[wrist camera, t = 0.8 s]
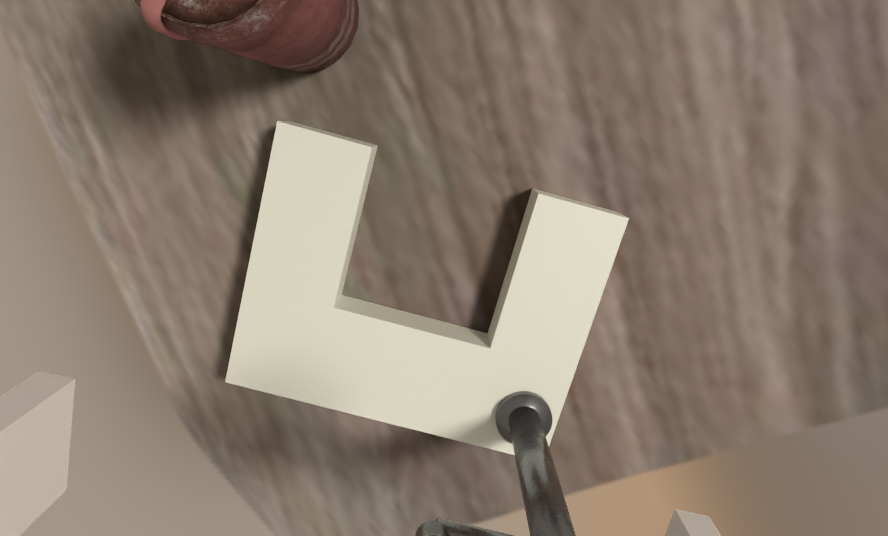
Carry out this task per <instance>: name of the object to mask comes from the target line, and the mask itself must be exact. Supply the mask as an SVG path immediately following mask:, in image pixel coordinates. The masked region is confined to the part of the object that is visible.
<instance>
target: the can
mask: <svg viewBox="0 0 888 536" xmlns="http://www.w3.org/2000/svg"><path fill="white" fill-rule="evenodd" d="M135 1H136V3H137V4H138V6H139V7H141V12H142V16H143V18H144V19H145V21H146V23H147V24H148V26H149V27H150V28H151V29H153V30H155V31H157V32H160V33H162V34H164V35H166V36H168V37H171V38H173V39H179V40H193V41H196V42H199V43H202V44H205V45H209V46H212V47H215V48H218V49H221V50H224V51H228V52H231V53H234V54H237V55H240V56H243V57H247V58H250V59H253V60H256V61H259V62H262V63H266V64H269V65H272V66H275V67H278V68H281V69H285V70H288V71H295V72H304V73H307V72H312V71H317V70H321V69H324V68H326V67H328V66H329V65H331V64H332V63H334V62H336V61H337V60H339V59H340V58H341V56H342V55H343V54H344V53H345V52H346V50H347V49H348V48H349V47H350V45H351V43H352V40H353V38H354V35H355V33H356V30H357V27H358V14H359V7H358V2H357V0H135Z"/></svg>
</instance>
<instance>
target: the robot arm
mask: <svg viewBox="0 0 888 536" xmlns="http://www.w3.org/2000/svg"><path fill="white" fill-rule="evenodd" d="M74 390H75V378H70V377H65V376H61V375H56V374H52V373H47V372H42V371H38V372H36V373H34V374H33V375H31V376H30V377H28V378H26V379H25V380H23V381H22V382H20V383H19V384H17V385H15V386H14V387H12V388H11V389H9V390H7V391H6V392H4V393H3V394H1V395H0V536H20V535H21V534H22V533H23V532H24V531H25V530H26V529H27V528H28V527H29V526H30V525H31V524H32V523H33V522H34V521H35V520H36V519H37V518H38V517H39V516H41V514H43V513H44V512H45V511H46V510H47V509H48V508H49V507H50V506H51V505H52V504H53V503H54V502H55V501H56V500H57V499H58V498H59V497H60V496H61V495H62V494H63V493H64V492H65V491H66V490H67V480H68V468H69V454H70V441H71V429H72V416H73V402H74ZM665 536H721V535H720V533H719V532H718V530H717V529H716V527H715V526H714V524H713V522H712V521H711V519H710V517H709V516H705V515H701V514H696V513H691V512H686V511H682V510H677V509H675V511H674V514H673V516H672V519H671V521H670V524H669V527H668V529H667V532H666V534H665Z"/></svg>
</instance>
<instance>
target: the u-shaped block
mask: <svg viewBox="0 0 888 536" xmlns="http://www.w3.org/2000/svg"><path fill="white" fill-rule="evenodd" d="M377 147H378V145H375V144H371V143H367V142H364V141H360V140H356V139H353V138H349V137H346V136H342V135H338V134H335V133H331V132H328V131H324V130H320V129H317V128H313V127H310V126H306V125H302V124H299V123H295V122H292V121H277V125H276V130H275V135H274V140H273V145H272V150H271V155H270V160H269V165H268V170H267V175H266V180H265V185H264V190H263V195H262V200H261V205H260V210H259V215H258V220H257V225H256V230H255V235H254V240H253V245H252V250H251V255H250V260H249V265H248V270H247V275H246V280H245V285H244V290H243V295H242V300H241V305H240V310H239V315H238V320H237V325H236V330H235V335H234V340H233V345H232V350H231V355H230V360H229V365H228V370H227V375H226V380H225V382H226V383H230V384H234V385H238V386H242V387H246V388H250V389H254V390H258V391H262V392H266V393H270V394H274V395H278V396H282V397H286V398H290V399H294V400H298V401H302V402H306V403H310V404H314V405H318V406H322V407H326V408H330V409H334V410H338V411H342V412H346V413H350V414H353V415H357V416H361V417H365V418H369V419H373V420H377V421H381V422H385V423H389V424H393V425H397V426H401V427H405V428H409V429H413V430H417V431H421V432H425V433H429V434H433V435H437V436H441V437H445V438H449V439H453V440H457V441H461V442H465V443H469V444H473V445H477V446H480V447H484V448H488V449H492V450H496V451H500V452H504V453H508V454H512V455H515V454H514V449H513V444H511V443H509V442H507V441H506V440H505V439H504V438H503V437H502V436H501V435H500V433H499V432H498V429H497V425H496V419H495V415H496V410H497V407H498V405H499V404H500V402H501V401H502V400H503V399H504V398H505V397H507V396H508V395H510V394H512V393H515V392H519V391H529V392H533V393H536V394H538V395H540V396H541V397H542V398H543V399H544V400H545V401H546V402H547V403H548V405H549V407H550V410H551V413H552V426H551V429H550V431H549V433H548V434H547V436H546V439H547V443H548V446H549V445H550V442H551V439H552V436H553V433H554V430H555V427H556V425H557V422H558V419H559V416H560V413H561V410H562V407H563V405H564V402H565V399H566V396H567V393H568V390H569V388H570V385H571V382H572V379H573V376H574V373H575V370H576V368H577V365H578V362H579V359H580V356H581V353H582V351H583V348H584V345H585V342H586V339H587V336H588V333H589V331H590V328H591V325H592V322H593V319H594V316H595V313H596V311H597V308H598V305H599V302H600V299H601V296H602V294H603V291H604V288H605V285H606V282H607V279H608V276H609V274H610V271H611V268H612V265H613V262H614V259H615V257H616V254H617V251H618V248H619V245H620V242H621V239H622V237H623V234H624V231H625V228H626V225H627V222H628V219H629V218H627V217H625V216H623V215H622V214H620V213H618V212H616V211H612V210H609V209H605V208H602V207H598V206H594V205H591V204H587V203H584V202H580V201H576V200H573V199H569V198H566V197H562V196H558V195H555V194H551V193H547V192H544V191H540V190H537V189H533V188H532V191H531V194H530V197H529V200H528V204H527V207H526V210H525V213H524V217H523V220H522V223H521V226H520V230H519V233H518V236H517V239H516V242H515V246H514V249H513V252H512V255H511V259H510V262H509V265H508V268H507V272H506V275H505V278H504V281H503V285H502V288H501V291H500V294H499V298H498V301H497V304H496V307H495V311H494V314H493V317H492V320H491V324H490V327H489V330H488V333H485V332H481V331H477V330H473V329H470V328H466V327H462V326H458V325H454V324H451V323H447V322H443V321H439V320H435V319H432V318H428V317H424V316H420V315H416V314H413V313H409V312H405V311H401V310H397V309H394V308H390V307H386V306H382V305H378V304H374V303H371V302H367V301H363V300H359V299H355V298H352V297H348V296H344V295H342V291H343V287H344V283H345V279H346V275H347V271H348V266H349V262H350V258H351V254H352V250H353V246H354V242H355V238H356V233H357V229H358V225H359V221H360V217H361V213H362V209H363V204H364V200H365V196H366V192H367V188H368V184H369V180H370V175H371V171H372V167H373V163H374V159H375V155H376V151H377Z"/></svg>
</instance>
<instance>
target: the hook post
mask: <svg viewBox="0 0 888 536" xmlns="http://www.w3.org/2000/svg"><path fill="white" fill-rule="evenodd" d="M495 419H496V425H497V429H498V432H499V433H500V435H501V436H502V437H503V438H504V439H505V440H506V441H507V442H509V443H511V444H513V449H514V454H515V459H516V464H517V469H518V474H519V479H520V485H521V490H522V495H523V500H524V505H525V510H526V515H527V520H528V526H529V531H530V536H576V535H575V532H574V528H573V525H572V522H571V519H570V515H569V512H568V509H567V505H566V502H565V499H564V495H563V492H562V489H561V486H560V482H559V479H558V476H557V472H556V469H555V466H554V463H553V459H552V456H551V453H550V449H549V446H548V443H547V439H546V436H547V434H548V433H549V431H550V429H551V426H552V413H551V410H550V407H549V405H548V403H547V402H546V401H545V400H544V399H543V398H542V397H541V396H540V395H538V394H536V393H533V392H529V391H519V392H515V393H512V394H510V395H508V396H507V397H505V398H504V399H503V400H502V401H501V402H500V404H499V405H498V407H497V410H496V415H495ZM416 536H512V535H508V534H504V533H500V532H496V531H492V530H488V529H483V528H480V527H476V526H471V525H467V524H463V523H459V522H455V521H451V520H447V519H443V518H439V517H438V518H437V519H436V521H429V522H426V523H424V524H422V525H421V526H420V527H419V528H418V529H417V531H416Z"/></svg>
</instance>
